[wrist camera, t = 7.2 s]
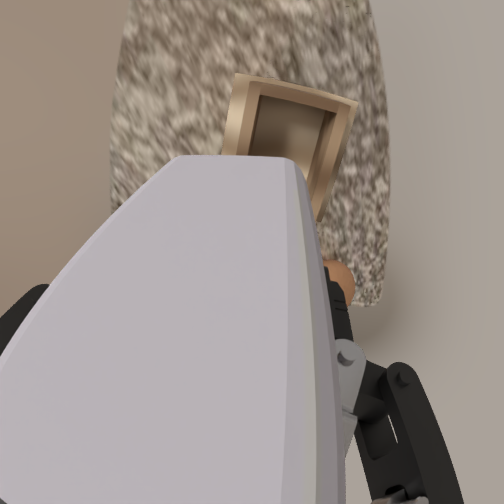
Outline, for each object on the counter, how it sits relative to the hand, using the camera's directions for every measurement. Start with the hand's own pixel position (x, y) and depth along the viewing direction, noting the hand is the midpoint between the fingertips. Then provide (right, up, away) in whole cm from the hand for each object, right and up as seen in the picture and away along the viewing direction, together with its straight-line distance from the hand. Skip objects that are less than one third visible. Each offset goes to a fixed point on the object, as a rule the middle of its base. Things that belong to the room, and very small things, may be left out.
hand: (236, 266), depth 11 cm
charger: (+1, +3, +5) cm, 6 cm away
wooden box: (+4, +14, +21) cm, 26 cm away
